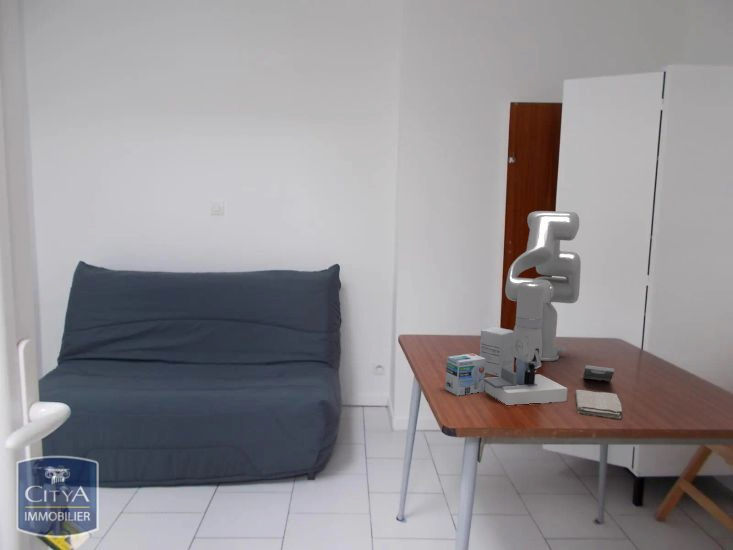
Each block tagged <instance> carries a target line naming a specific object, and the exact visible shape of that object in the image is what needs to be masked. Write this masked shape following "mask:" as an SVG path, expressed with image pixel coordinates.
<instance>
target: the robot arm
mask: <svg viewBox="0 0 733 550" xmlns="http://www.w3.org/2000/svg"><path fill="white" fill-rule="evenodd" d="M526 220H527V225H528V228H529V234H528V238H527V245H526V251H524V252H523V253H522V254H520V255H519V256H518V257H516V259H515V260H514V261H513V262H512V264H511V265H510V267H509V268H508V272H507V277H506V282H505V292H504V293H505V296H506V298H507V299H508V300H509V301H513V302H516V311H515V312H516V313H515V325H514V328H513V336H512V344H511V354H512V356H514V362H515V366H516V365H517V359H519V360H521V361H523V362H526V371H525V378H524V384H526V385H529V384H534V382H535V375H536V372H537V370H538V368H541V367H542V362H541V361H543V362H553V361H557V360H559V357H560V355H559V354H558V353H565V352H566V351H567V349H566V347H565V346H560V347H559V346H558V345H556V341H557V329H558V312H557V309H556V308H555V306H554V305H553V304H552V303H560V304H575V303H576V302H577V301H578V299H579V296H580V290H581V289H580V287H581V268H582V267H581V266H582V265H581V264H582V263H581V257H580V255H579V254H578V253H577V252H574V251H565V250H564V251H563V250H561V249H560V248H561V241H566V242H567V241H568V242H569V241H573V240H574V239H576V236H577V235H578V232H579V229H580V218H579V215H578V213H576V212H573V211H554V210H553V211H552V210H549V211H548V210H536V211H532V212H530V213H529V214H528V215H527V219H526ZM532 268H535V271H536V273H537V274H540V275H541V276H538V277H535V278H529V277H528V278H527V277H519V275H520V274H521V273H523V272H524V271H526V270H529V269H532ZM532 359H533V361H532ZM531 363H533V365H531V366H530V364H531Z"/></svg>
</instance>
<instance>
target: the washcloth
mask: <svg viewBox="0 0 733 550" xmlns="http://www.w3.org/2000/svg"><path fill="white" fill-rule="evenodd" d="M574 394H575V395H574V396H575V400H576V401H575V402H576V405H577V414H578V413H579V414H580V413H581V414H582V415H585V416H589V415H595V416H594V417H596V416H604V417H610V418H609V419H611V418H615V419H614V420H621V419H622V415H620V414H621V413H622V412H623V410H622V403H621V401H620V399H619V397H618V395H617V393H613V392H605V391H604V392H597V391H595V392H594V391H592V390H591V391H590V390H584V389H576V390H575V393H574ZM579 414H578V415H579ZM581 414H580V415H581ZM604 417H603V418H604Z"/></svg>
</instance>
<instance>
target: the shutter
mask: <svg viewBox="0 0 733 550" xmlns="http://www.w3.org/2000/svg"><path fill="white" fill-rule="evenodd" d="M497 377H498V378H491V377H485V378H484V381H485V382H486V383H488V384H489V385H491V386H492V387H494V388H502V387H505V386H517V373H516V371H511V370H510V369H508V368H506V367H502V368H501V377H499V376H497Z"/></svg>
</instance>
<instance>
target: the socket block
mask: <svg viewBox="0 0 733 550" xmlns="http://www.w3.org/2000/svg"><path fill="white" fill-rule="evenodd" d="M498 377H499V376H495V377H494V376H493V377H490V378H498ZM484 392H485V393H487V394H488V395H490V396H491V397H492V398H494V397H495V398H494V399H496V398H497V399H498V400H497V399H496V400H497V401H499V400H500V401H501V402H503V403H505V404H506V405H514V404H529V403H541V404H548V403H549V402H552V403H562V402H567V400H568V399H567V397H568V387H565V386H563V385H562V384H560V383H558V382H556V381H554V380H552V379H550V378H549V377H546V376H544V375H542V374H539V373H538V374H536V373H535V382H534V386H527V385H518V384H517V386H505V387H502V388H494V387H492V386H491V385H489V384H488V383H486V382H485V383H484ZM500 401H499V402H500ZM501 402H500V403H501ZM503 403H502V404H503ZM549 404H550V403H549ZM506 405H505V406H506ZM529 405H530V404H529Z"/></svg>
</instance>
